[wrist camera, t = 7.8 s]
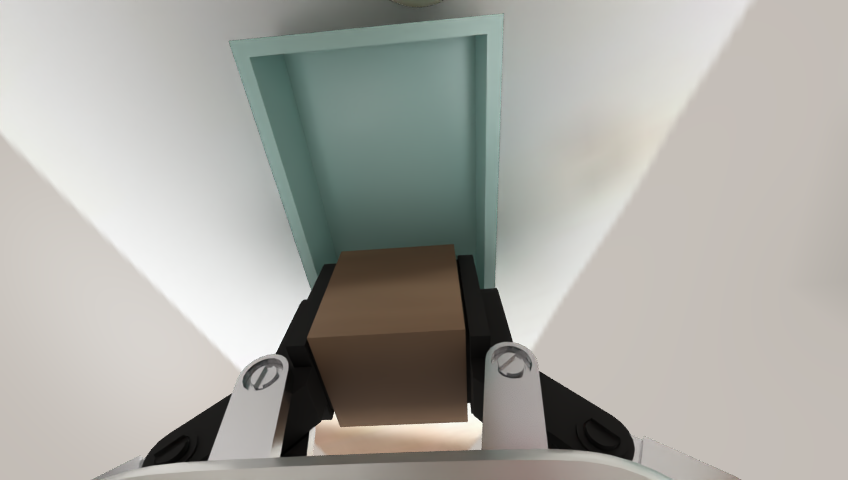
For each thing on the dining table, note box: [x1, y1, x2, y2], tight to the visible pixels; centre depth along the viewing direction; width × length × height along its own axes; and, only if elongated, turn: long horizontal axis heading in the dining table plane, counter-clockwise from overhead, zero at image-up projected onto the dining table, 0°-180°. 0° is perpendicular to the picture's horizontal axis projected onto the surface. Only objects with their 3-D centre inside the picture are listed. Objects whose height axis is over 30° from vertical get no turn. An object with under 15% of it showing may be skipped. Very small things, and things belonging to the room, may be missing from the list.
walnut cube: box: [307, 244, 468, 427], centre depth 11 cm, size 4×4×4 cm
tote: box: [229, 13, 504, 291], centre depth 12 cm, size 10×7×3 cm, turn 5°
